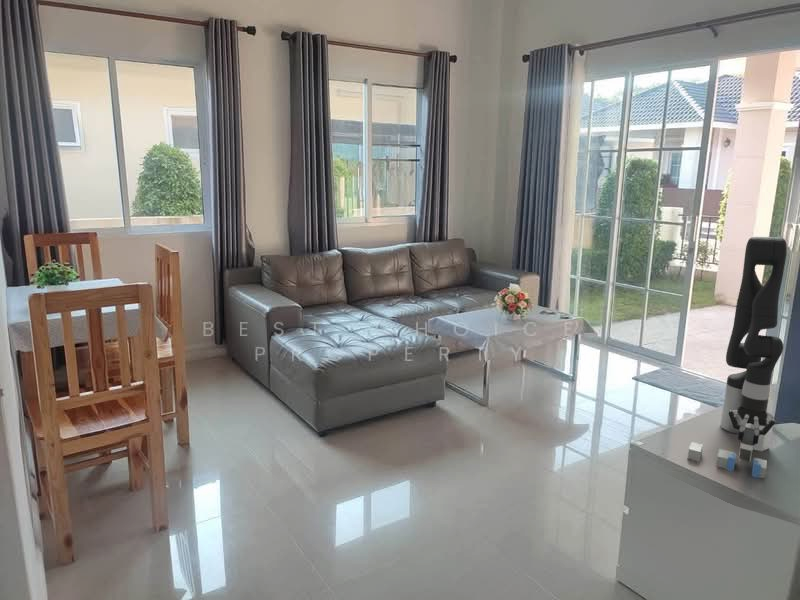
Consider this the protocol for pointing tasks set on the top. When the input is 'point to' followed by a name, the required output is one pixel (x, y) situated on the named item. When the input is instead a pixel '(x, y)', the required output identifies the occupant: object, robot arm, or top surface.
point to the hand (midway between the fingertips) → (747, 442)
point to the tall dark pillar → (747, 444)
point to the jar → (762, 436)
